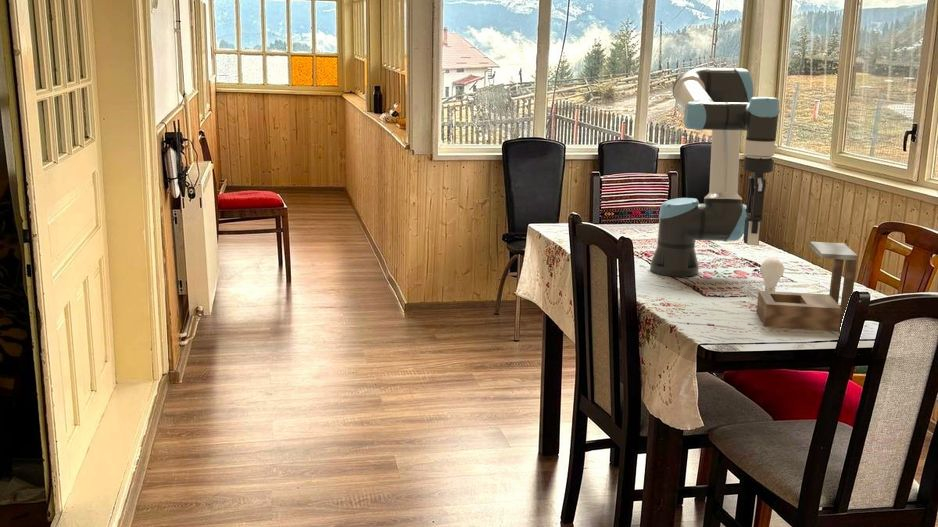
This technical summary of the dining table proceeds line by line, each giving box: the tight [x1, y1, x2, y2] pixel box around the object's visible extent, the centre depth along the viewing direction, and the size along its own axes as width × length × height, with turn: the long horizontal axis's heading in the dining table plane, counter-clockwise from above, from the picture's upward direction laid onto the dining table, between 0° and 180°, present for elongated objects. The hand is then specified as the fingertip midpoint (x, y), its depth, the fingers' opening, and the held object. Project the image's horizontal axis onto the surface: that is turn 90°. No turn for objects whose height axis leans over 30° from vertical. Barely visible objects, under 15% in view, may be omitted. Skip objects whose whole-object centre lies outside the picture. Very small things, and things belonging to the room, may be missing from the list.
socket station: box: [756, 241, 859, 332], centre depth 227 cm, size 20×14×20 cm
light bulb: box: [759, 257, 785, 292], centre depth 253 cm, size 7×7×11 cm
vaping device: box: [742, 213, 762, 246], centre depth 233 cm, size 3×5×12 cm, turn 15°
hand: (751, 242), depth 234 cm, fingers closed on vaping device, 5 cm apart
